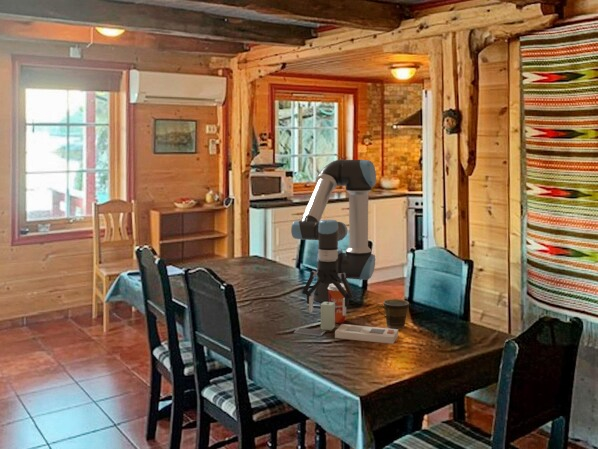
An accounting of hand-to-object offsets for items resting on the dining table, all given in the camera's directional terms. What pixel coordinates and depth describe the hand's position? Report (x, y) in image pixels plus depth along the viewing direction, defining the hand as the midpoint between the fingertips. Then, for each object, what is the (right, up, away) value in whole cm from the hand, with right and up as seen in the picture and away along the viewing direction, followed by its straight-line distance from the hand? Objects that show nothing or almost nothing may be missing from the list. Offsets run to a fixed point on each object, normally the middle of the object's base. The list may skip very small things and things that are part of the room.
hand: (327, 313), depth 247 cm
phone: (-7, -7, -4) cm, 11 cm away
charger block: (0, -6, +1) cm, 6 cm away
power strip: (+14, -7, -10) cm, 19 cm away
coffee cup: (+5, -5, +11) cm, 13 cm away
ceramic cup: (+26, -6, +2) cm, 27 cm away
